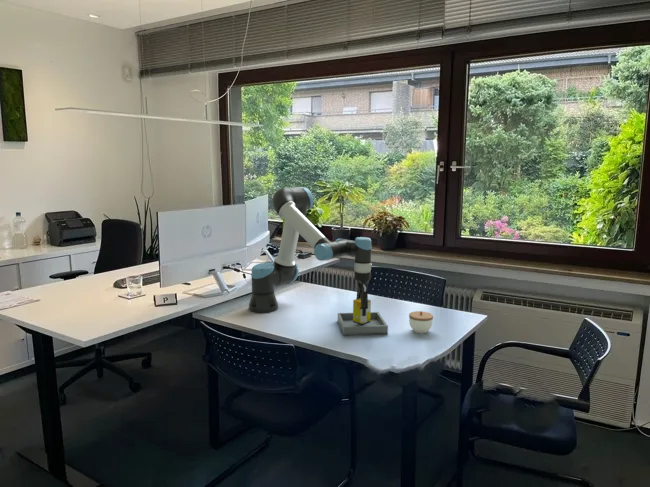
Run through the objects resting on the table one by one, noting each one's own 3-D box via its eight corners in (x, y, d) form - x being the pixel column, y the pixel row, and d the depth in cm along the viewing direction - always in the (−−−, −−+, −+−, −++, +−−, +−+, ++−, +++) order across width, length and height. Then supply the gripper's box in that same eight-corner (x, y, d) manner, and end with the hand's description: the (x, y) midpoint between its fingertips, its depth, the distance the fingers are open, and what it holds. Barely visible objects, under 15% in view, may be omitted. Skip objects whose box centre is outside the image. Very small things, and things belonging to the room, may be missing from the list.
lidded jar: (427, 336, 217) (428, 316, 215) (404, 332, 222) (405, 312, 221) (435, 329, 226) (436, 310, 224) (413, 325, 231) (414, 306, 230)
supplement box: (361, 319, 232) (361, 297, 230) (370, 322, 228) (371, 299, 226) (352, 322, 228) (352, 299, 226) (362, 325, 224) (362, 302, 222)
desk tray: (337, 321, 237) (337, 313, 236) (378, 319, 239) (378, 311, 238) (343, 335, 217) (343, 327, 217) (387, 334, 219) (387, 325, 219)
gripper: (375, 276, 214) (374, 326, 218) (366, 266, 234) (365, 311, 238) (358, 277, 213) (357, 326, 217) (350, 266, 233) (350, 312, 237)
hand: (361, 318), depth 227 cm, fingers closed on supplement box, 8 cm apart
